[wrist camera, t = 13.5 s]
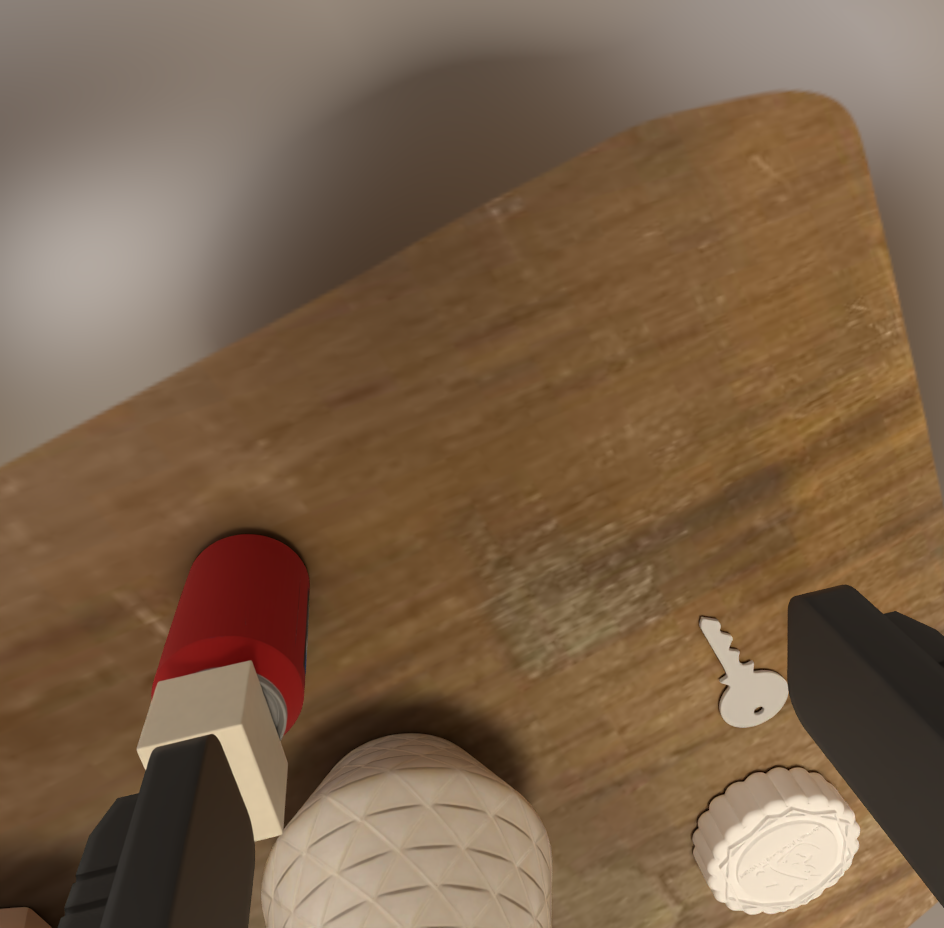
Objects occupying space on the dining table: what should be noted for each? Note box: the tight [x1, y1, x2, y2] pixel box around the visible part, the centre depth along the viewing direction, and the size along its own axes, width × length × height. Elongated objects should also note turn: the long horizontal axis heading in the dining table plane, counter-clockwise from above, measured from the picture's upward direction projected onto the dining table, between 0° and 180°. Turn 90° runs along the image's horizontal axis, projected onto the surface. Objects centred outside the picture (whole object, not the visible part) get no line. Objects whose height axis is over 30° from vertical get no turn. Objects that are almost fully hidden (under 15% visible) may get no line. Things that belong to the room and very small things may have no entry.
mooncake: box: [693, 767, 860, 915], centre depth 59 cm, size 12×12×4 cm
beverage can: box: [151, 534, 310, 741], centre depth 40 cm, size 7×7×12 cm
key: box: [699, 617, 788, 728], centre depth 54 cm, size 11×1×5 cm
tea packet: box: [137, 660, 288, 842], centre depth 33 cm, size 6×4×4 cm, turn 10°
